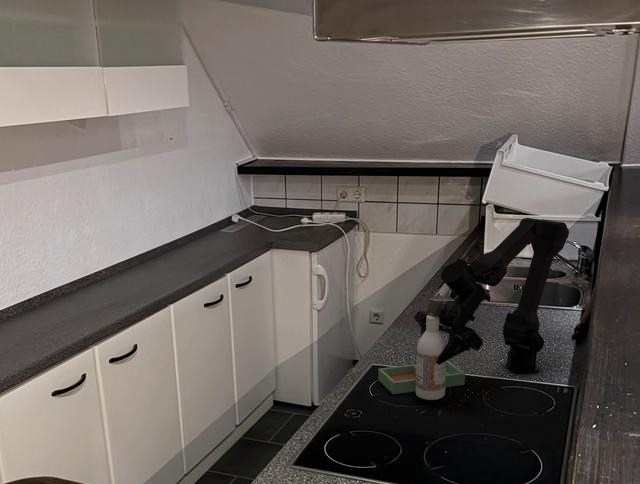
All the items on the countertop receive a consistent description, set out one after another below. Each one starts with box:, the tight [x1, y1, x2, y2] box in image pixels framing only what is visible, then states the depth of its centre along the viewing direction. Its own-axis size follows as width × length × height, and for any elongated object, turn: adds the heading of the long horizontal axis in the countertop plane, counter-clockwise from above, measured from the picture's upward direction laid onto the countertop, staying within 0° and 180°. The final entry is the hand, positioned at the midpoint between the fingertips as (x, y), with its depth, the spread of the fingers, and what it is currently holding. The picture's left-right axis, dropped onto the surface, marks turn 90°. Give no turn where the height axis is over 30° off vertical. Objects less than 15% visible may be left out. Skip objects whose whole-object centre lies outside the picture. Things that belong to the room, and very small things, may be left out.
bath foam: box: [415, 313, 447, 401], centre depth 180 cm, size 7×7×20 cm
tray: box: [377, 360, 466, 395], centre depth 195 cm, size 19×10×3 cm, turn 105°
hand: (427, 359), depth 179 cm, fingers closed on bath foam, 7 cm apart
